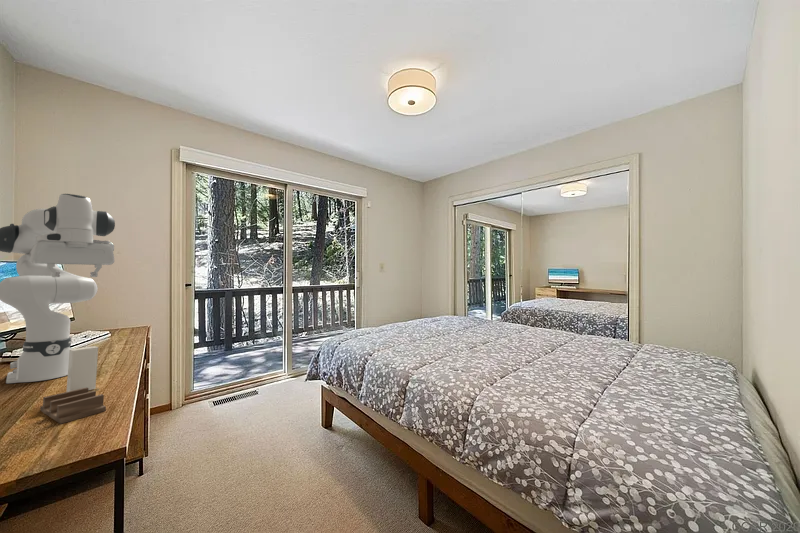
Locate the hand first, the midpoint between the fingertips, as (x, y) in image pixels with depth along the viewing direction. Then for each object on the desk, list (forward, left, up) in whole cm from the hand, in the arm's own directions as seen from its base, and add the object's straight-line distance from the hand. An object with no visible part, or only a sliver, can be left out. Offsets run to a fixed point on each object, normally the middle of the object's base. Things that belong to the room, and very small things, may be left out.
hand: (75, 277), depth 106 cm
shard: (+12, 0, -40) cm, 42 cm away
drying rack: (+27, -6, -39) cm, 48 cm away
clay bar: (+12, 0, -38) cm, 40 cm away
